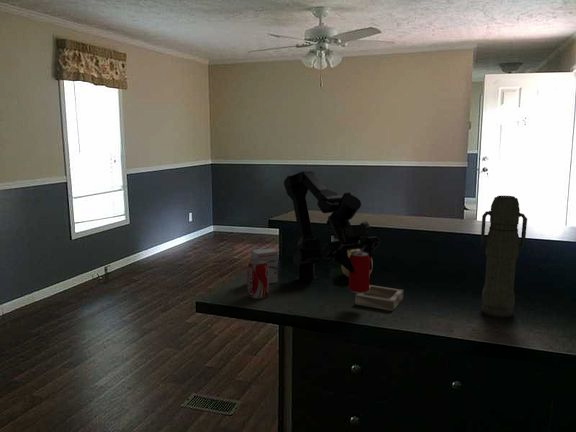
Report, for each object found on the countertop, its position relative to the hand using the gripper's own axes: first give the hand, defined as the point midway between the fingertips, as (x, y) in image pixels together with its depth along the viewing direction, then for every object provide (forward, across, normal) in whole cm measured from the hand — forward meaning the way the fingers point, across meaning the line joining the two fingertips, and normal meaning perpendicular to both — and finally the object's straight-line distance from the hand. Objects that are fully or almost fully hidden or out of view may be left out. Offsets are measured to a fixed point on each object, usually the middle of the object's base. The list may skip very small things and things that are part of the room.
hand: (362, 270), depth 142 cm
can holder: (+7, +9, +11) cm, 16 cm away
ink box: (-18, -15, +36) cm, 43 cm away
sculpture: (-11, +18, +29) cm, 36 cm away
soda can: (-9, -23, +27) cm, 37 cm away
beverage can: (+4, 0, +6) cm, 7 cm away
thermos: (+23, +35, -6) cm, 43 cm away
